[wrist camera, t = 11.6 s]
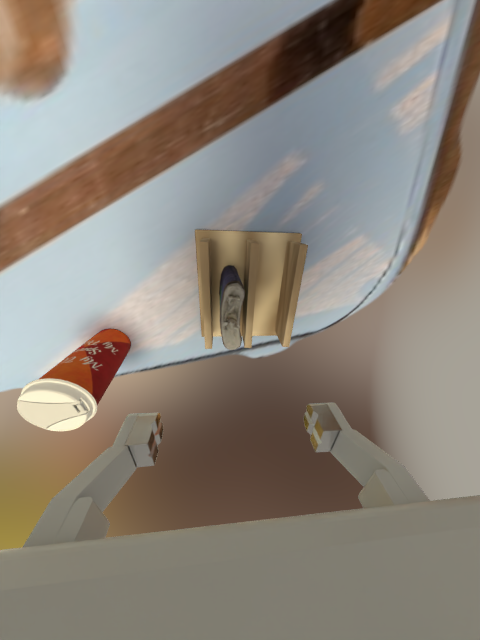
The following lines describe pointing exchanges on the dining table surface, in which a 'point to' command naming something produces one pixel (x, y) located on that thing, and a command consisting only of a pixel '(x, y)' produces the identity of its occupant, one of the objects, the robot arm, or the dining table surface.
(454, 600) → the robot arm
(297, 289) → the rack
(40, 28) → the dining table surface
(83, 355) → the paper cup
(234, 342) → the flask
